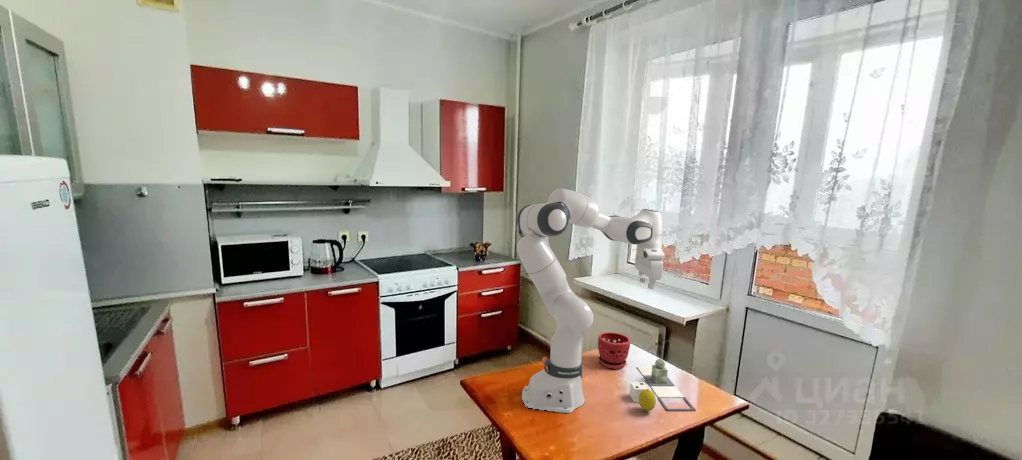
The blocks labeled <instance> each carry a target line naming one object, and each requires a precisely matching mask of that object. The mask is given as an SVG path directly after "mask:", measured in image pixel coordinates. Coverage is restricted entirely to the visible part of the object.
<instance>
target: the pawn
mask: <svg viewBox="0 0 1022 460" xmlns="http://www.w3.org/2000/svg"><path fill="white" fill-rule="evenodd" d="M651 367H652V375H651V378H652V380H653V381H654V382H655V384H667V377H668V369H667V367H666V363H665V360H663V359H662V358H658V359H656V360H655V362H654V364H652V365H651Z"/></svg>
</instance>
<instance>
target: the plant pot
mask: <svg viewBox="0 0 1022 460" xmlns="http://www.w3.org/2000/svg"><path fill="white" fill-rule="evenodd" d="M614 341H615V342H614ZM630 347H631V339H630V338H629V337H628V336H627V335H625V334H621V333H618V332H609V331H607V332H606V331H605V332H602V333H600V334H598V338H597V349H598V354H599V356H598V358H597V359H598V362H599V363H600V365H601V366H603V367H605V368H609V369H616V370H617V369H622V368H624V367H625V366H626V365H627V361H626V360H627V358H628V356H629V352H630V351H629V350H630Z"/></svg>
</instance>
